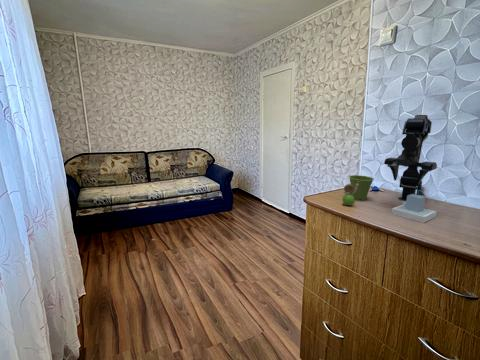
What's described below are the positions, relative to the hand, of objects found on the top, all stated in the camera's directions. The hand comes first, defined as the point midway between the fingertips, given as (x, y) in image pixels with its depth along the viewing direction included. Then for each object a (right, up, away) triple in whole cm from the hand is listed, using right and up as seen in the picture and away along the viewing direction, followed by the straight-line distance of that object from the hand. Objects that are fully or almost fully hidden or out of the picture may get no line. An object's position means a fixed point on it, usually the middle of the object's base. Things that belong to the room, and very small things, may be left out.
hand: (406, 182), depth 110 cm
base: (-1, -14, -6) cm, 15 cm away
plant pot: (-13, -9, +18) cm, 24 cm away
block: (-1, -12, -6) cm, 13 cm away
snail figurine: (-23, -11, +7) cm, 26 cm away
